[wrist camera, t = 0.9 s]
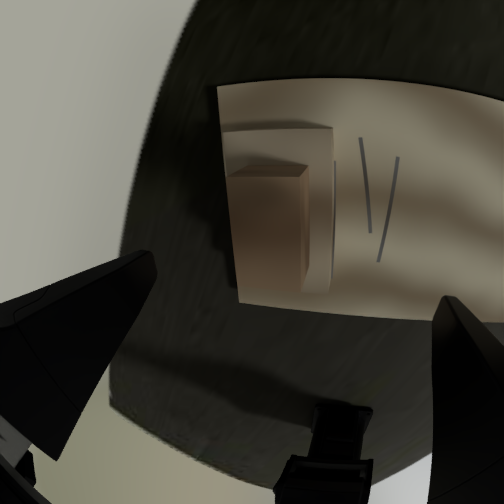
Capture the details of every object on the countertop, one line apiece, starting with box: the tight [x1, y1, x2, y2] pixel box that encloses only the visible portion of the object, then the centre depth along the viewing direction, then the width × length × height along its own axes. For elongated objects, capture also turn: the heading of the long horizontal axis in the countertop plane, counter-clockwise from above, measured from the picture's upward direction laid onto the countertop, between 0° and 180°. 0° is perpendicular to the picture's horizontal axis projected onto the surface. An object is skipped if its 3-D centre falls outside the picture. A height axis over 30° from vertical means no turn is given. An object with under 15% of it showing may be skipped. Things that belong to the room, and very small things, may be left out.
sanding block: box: [223, 127, 334, 295], centre depth 17 cm, size 10×6×5 cm, turn 5°
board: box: [217, 78, 504, 322], centre depth 17 cm, size 16×24×2 cm, turn 95°
